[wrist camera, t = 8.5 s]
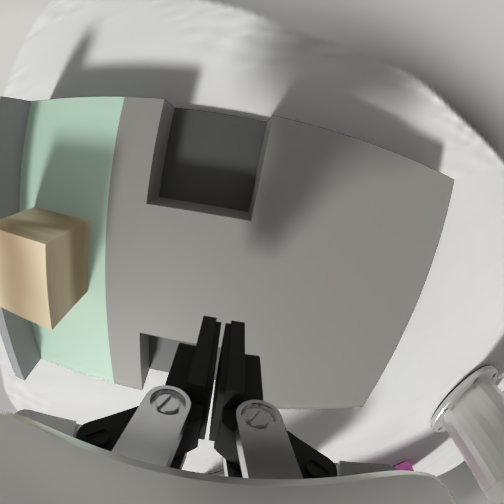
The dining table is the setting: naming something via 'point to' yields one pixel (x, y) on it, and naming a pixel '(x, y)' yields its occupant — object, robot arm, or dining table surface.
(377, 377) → the board
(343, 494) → the robot arm
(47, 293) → the block
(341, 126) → the dining table surface
